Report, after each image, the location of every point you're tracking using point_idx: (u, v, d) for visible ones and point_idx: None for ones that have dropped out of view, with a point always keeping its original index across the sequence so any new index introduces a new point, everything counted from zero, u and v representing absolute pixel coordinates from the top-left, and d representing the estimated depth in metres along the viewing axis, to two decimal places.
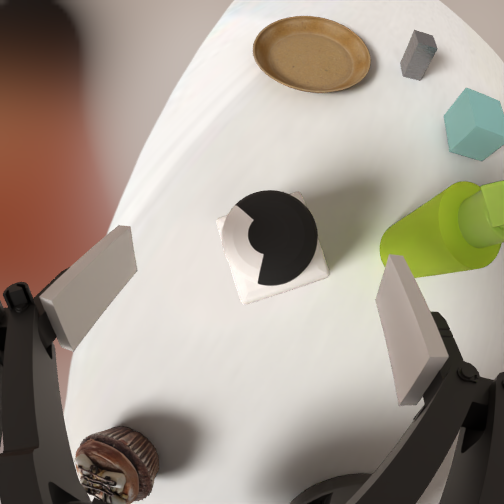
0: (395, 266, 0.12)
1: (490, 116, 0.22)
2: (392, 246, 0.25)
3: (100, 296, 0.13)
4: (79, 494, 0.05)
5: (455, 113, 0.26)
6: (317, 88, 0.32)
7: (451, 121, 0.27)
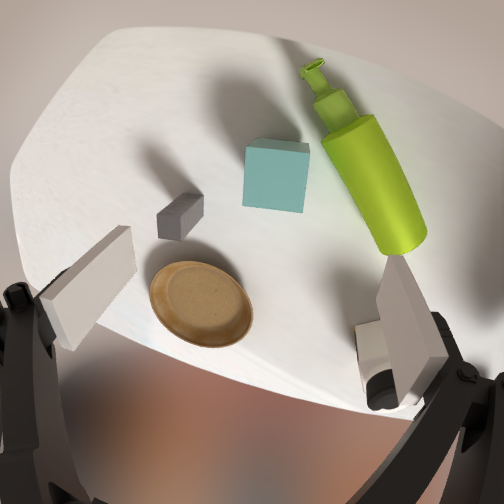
0: (395, 266, 0.12)
1: (280, 179, 0.25)
2: (395, 218, 0.26)
3: (100, 296, 0.13)
4: (79, 494, 0.05)
5: None
6: (240, 301, 0.41)
7: None
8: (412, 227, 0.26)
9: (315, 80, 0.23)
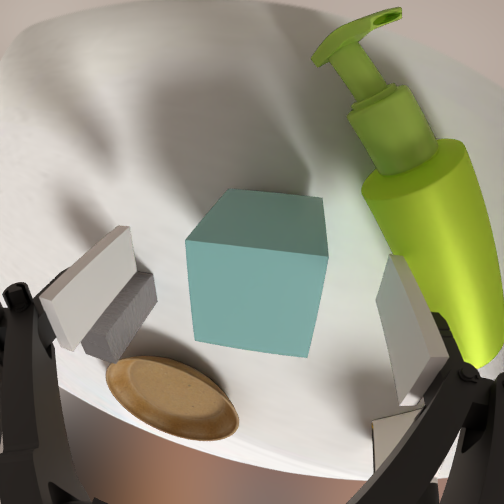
0: (395, 266, 0.12)
1: (263, 306, 0.12)
2: (488, 321, 0.12)
3: (100, 296, 0.13)
4: (79, 494, 0.05)
5: None
6: (221, 398, 0.28)
7: None
8: (502, 323, 0.13)
9: (359, 64, 0.10)
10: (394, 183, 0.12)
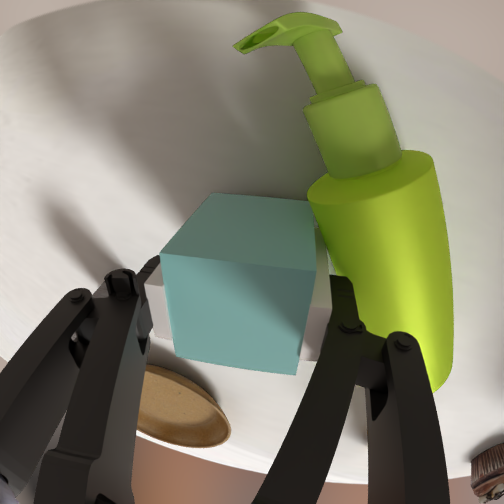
0: None
1: (246, 322, 0.11)
2: None
3: None
4: (125, 502, 0.05)
5: None
6: None
7: None
8: None
9: (307, 60, 0.10)
10: (321, 182, 0.13)
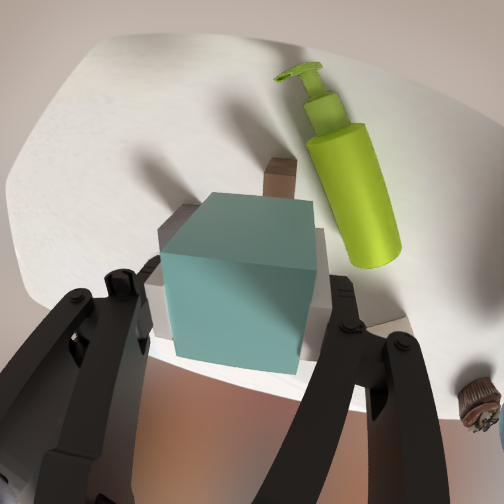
0: None
1: (247, 322, 0.11)
2: (351, 234, 0.28)
3: None
4: (125, 502, 0.05)
5: None
6: None
7: None
8: (368, 249, 0.27)
9: (304, 83, 0.23)
10: (312, 138, 0.26)
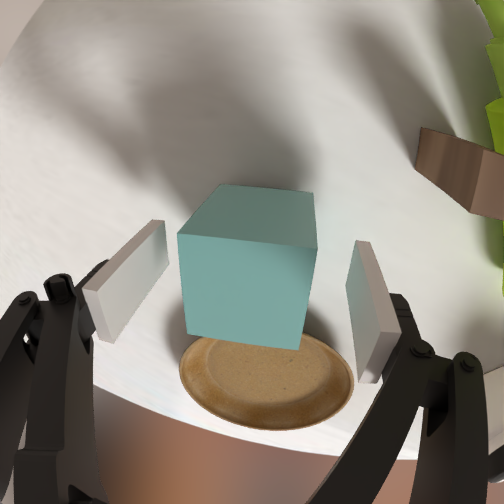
0: (360, 251, 0.13)
1: (254, 298, 0.12)
2: None
3: (138, 288, 0.13)
4: (98, 496, 0.05)
5: None
6: (327, 372, 0.24)
7: None
8: None
9: (493, 12, 0.07)
10: (499, 103, 0.10)
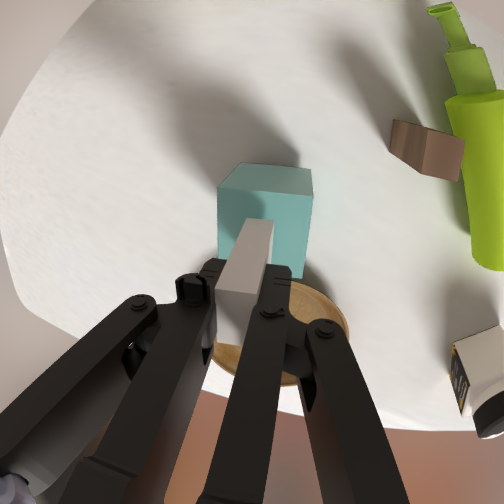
0: (258, 227, 0.15)
1: None
2: (493, 227, 0.17)
3: None
4: None
5: None
6: None
7: None
8: None
9: (449, 27, 0.12)
10: (454, 98, 0.15)
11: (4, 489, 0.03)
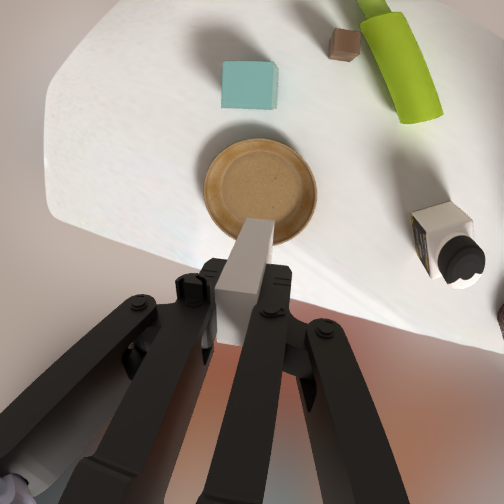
0: (258, 227, 0.15)
1: (251, 83, 0.27)
2: (402, 90, 0.27)
3: None
4: None
5: None
6: (300, 188, 0.39)
7: None
8: (418, 103, 0.26)
9: None
10: None
11: (4, 489, 0.03)
